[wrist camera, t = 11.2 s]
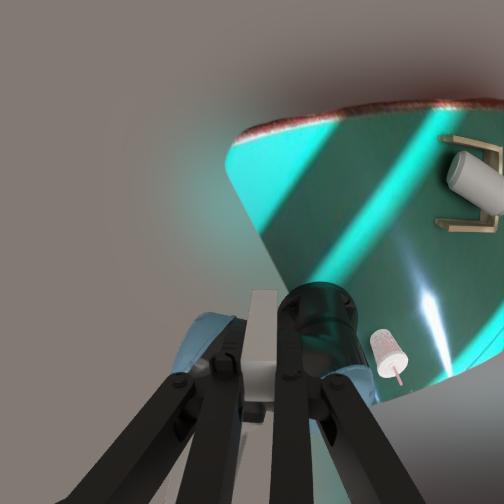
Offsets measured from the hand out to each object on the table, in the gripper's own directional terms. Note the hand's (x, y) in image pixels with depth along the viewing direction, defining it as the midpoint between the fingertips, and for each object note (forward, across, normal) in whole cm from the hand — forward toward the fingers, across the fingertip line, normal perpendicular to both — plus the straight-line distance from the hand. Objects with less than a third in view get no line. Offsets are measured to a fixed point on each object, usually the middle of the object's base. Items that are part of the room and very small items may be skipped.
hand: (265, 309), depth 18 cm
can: (+26, -31, -9) cm, 41 cm away
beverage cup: (+30, -22, +26) cm, 45 cm away
